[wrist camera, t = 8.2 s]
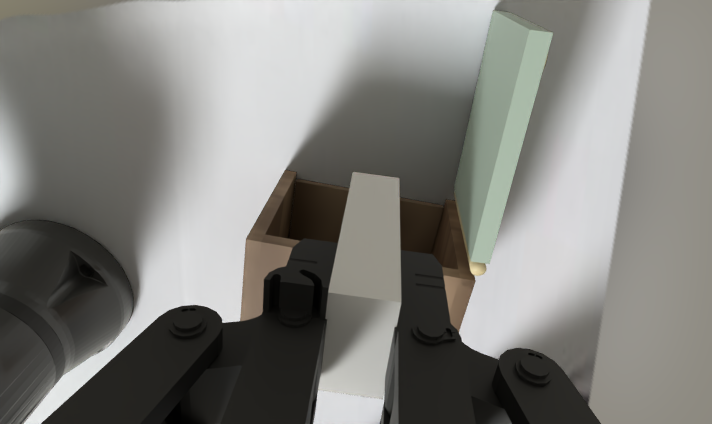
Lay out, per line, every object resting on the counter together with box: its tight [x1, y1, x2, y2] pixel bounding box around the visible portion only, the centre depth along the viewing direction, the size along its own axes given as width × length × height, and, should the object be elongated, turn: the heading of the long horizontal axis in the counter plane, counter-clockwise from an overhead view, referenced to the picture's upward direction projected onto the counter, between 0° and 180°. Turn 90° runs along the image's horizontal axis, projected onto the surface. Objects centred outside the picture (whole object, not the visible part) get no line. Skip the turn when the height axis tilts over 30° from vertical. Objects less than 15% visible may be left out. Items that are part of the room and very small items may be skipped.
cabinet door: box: [454, 10, 553, 276], centre depth 34 cm, size 15×2×12 cm, turn 174°
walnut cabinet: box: [240, 170, 475, 332], centre depth 40 cm, size 15×10×12 cm, turn 81°
